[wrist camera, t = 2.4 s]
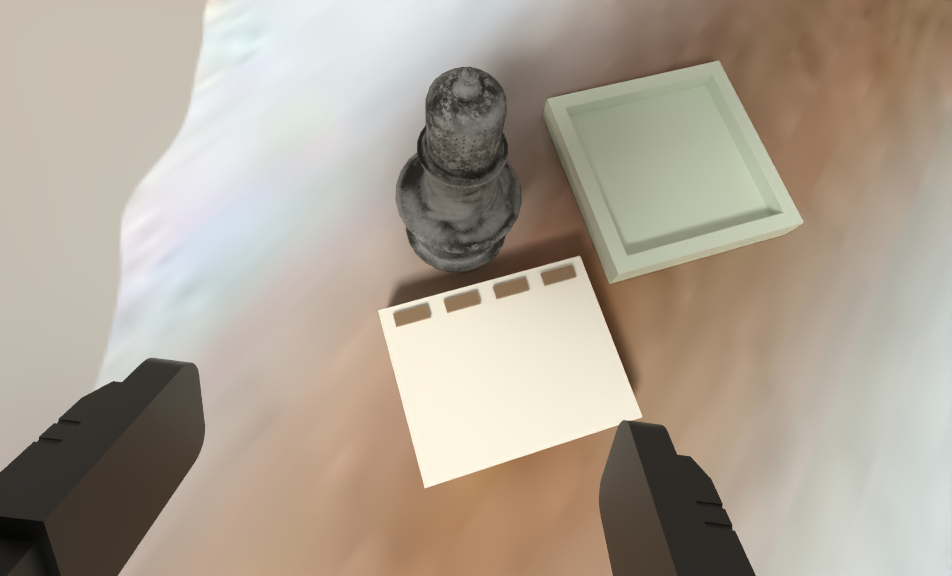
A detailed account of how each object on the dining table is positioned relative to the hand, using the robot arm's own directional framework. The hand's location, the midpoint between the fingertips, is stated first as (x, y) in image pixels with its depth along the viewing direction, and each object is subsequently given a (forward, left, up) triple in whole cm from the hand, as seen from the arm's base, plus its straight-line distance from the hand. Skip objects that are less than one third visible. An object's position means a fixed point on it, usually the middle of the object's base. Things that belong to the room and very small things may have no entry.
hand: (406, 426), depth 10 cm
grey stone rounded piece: (-5, -10, -16) cm, 19 cm away
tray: (-17, -10, -15) cm, 25 cm away
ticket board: (-5, -2, -15) cm, 16 cm away
